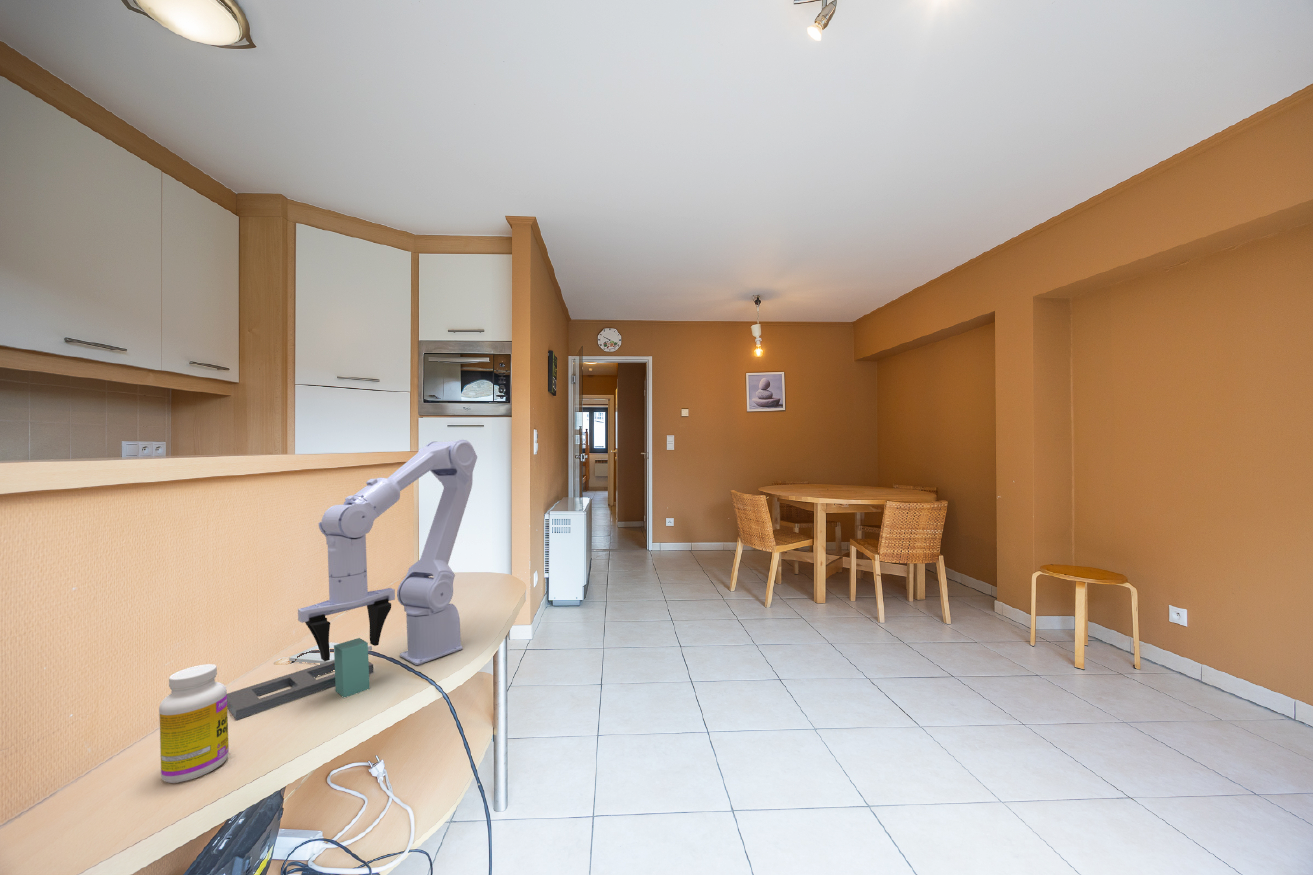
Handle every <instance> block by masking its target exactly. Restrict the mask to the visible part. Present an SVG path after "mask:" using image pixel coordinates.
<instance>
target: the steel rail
mask: <svg viewBox="0 0 1313 875" xmlns="http://www.w3.org/2000/svg"><path fill="white" fill-rule="evenodd" d="M333 670H335V661H334V660H333V661H329V662H326V663H323V664H320V665H313V666H311V667H308V668H304V669H302V670H301V669H300V670H299V671H295V672H292V673H289V674H286V675H285V674H284V675H282V676H279V677H278V676H277V677H275V678H272V679H269V680H266V681H263V682H260V683H257V684H254V685H251V686H247V687H244V688H242V689H241V688H240V689H238V690H234V691H230V692H227V710H229V712H230V713H231V715H232V716H233V718H234V720H235V721H239V720H241V719H245V718H247V717H251V716H252V715H255V714H258V713H262V712H265V711H267V710H271V709H273V708H275V707H278V706H281V705H285V704H287V703H289V702H293V701H295V700H298V699H301V698H305V697H308V696H310V695H313V694H316V693H319V692H321V690H322V691H324V690H323V689H325V690H327V688H328V689H331V688H333V687H336V686H335V673H333V674H331V675H330V674H329V673H328V672H331V671H333ZM374 671H375V670H374V664H373V663H372V662H370V661H369V675H371V674H372V673H374ZM325 673H327V674H329V675H326V674H325ZM331 673H332V672H331ZM323 674H324V675H326V676H324V675H323ZM318 675H321V676H323V677H321V678H318V679H316V678H317V677H316V676H318ZM314 677H315V678H314ZM318 677H319V676H318ZM287 687H290V688H287ZM284 688H287V689H284ZM278 689H279V690H281V689H284V690H282V691H279V690H278ZM276 691H278V692H276ZM273 692H275V693H273ZM271 693H272V694H271ZM267 694H269V695H267ZM264 695H267V696H264ZM261 696H263V697H261ZM259 697H261V698H259Z"/></svg>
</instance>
